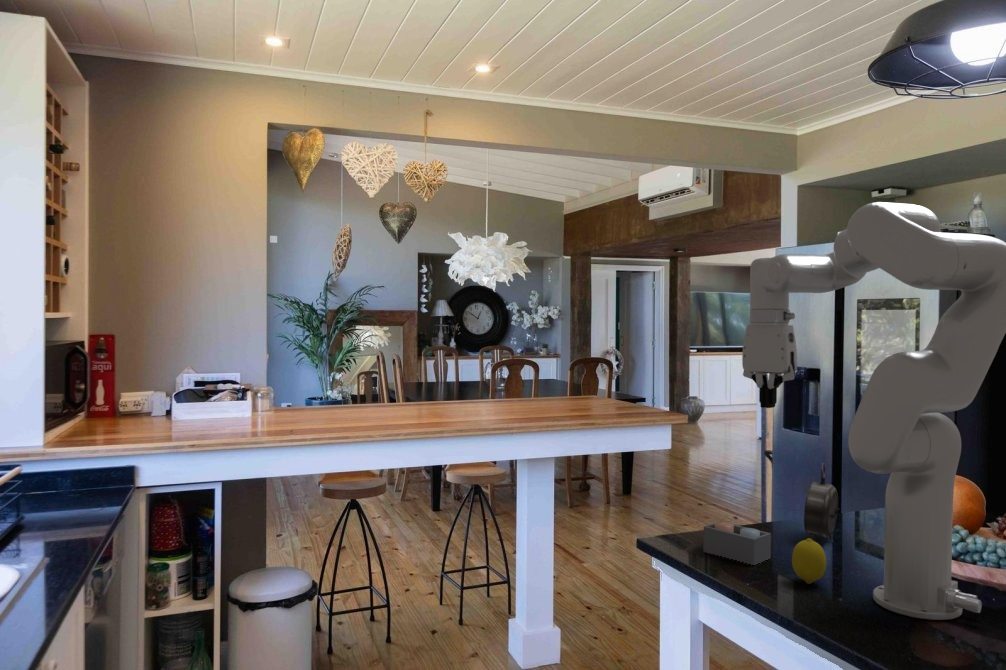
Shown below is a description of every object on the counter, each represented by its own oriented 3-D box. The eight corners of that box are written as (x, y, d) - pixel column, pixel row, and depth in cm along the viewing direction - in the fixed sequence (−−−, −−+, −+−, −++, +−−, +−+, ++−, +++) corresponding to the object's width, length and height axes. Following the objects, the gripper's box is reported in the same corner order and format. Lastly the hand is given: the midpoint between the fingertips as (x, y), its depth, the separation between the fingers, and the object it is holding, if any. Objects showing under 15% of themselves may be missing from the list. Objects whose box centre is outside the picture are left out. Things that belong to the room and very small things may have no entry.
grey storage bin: (770, 559, 141) (771, 533, 141) (754, 566, 137) (754, 539, 137) (720, 545, 149) (720, 521, 149) (703, 551, 145) (703, 526, 145)
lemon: (829, 590, 125) (829, 544, 125) (794, 588, 126) (795, 542, 126) (821, 579, 130) (822, 534, 130) (788, 577, 131) (789, 532, 131)
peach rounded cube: (737, 544, 145) (737, 524, 145) (727, 548, 143) (727, 528, 143) (721, 540, 148) (721, 520, 148) (710, 544, 145) (711, 524, 145)
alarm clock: (814, 532, 159) (815, 457, 158) (841, 536, 156) (842, 460, 155) (801, 545, 150) (802, 466, 149) (830, 550, 147) (831, 469, 146)
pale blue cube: (763, 551, 141) (763, 530, 141) (753, 555, 138) (753, 534, 138) (746, 547, 144) (746, 526, 143) (736, 550, 141) (736, 530, 141)
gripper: (813, 318, 148) (811, 409, 148) (745, 318, 159) (743, 402, 159) (795, 318, 143) (794, 412, 143) (726, 318, 154) (725, 405, 154)
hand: (767, 407), depth 151 cm, fingers closed
